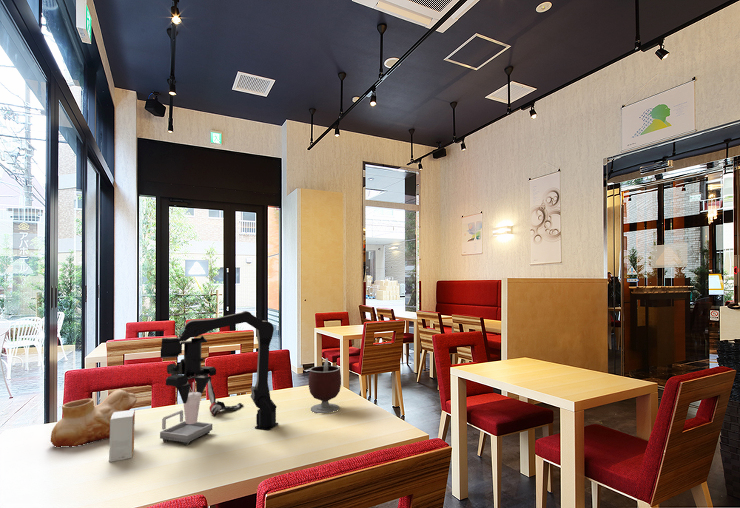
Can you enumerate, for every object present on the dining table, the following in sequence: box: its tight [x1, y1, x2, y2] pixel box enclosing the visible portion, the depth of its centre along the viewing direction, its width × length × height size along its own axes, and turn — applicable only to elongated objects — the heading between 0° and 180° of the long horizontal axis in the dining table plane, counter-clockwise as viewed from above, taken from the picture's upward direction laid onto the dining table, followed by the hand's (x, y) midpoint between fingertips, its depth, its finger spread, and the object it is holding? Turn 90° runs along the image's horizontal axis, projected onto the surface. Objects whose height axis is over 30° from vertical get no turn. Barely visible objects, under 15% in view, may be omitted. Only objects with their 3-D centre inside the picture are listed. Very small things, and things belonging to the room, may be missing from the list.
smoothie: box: [183, 381, 202, 424], centre depth 145 cm, size 6×6×14 cm
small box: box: [108, 409, 136, 463], centre depth 131 cm, size 8×6×13 cm
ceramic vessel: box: [50, 388, 138, 448], centre depth 148 cm, size 14×26×15 cm, turn 137°
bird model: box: [207, 375, 245, 418], centre depth 173 cm, size 20×14×15 cm
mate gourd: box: [308, 357, 342, 414], centre depth 176 cm, size 16×14×20 cm
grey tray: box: [159, 409, 213, 446], centre depth 145 cm, size 13×12×8 cm
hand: (191, 400), depth 145 cm, fingers closed on smoothie, 6 cm apart
